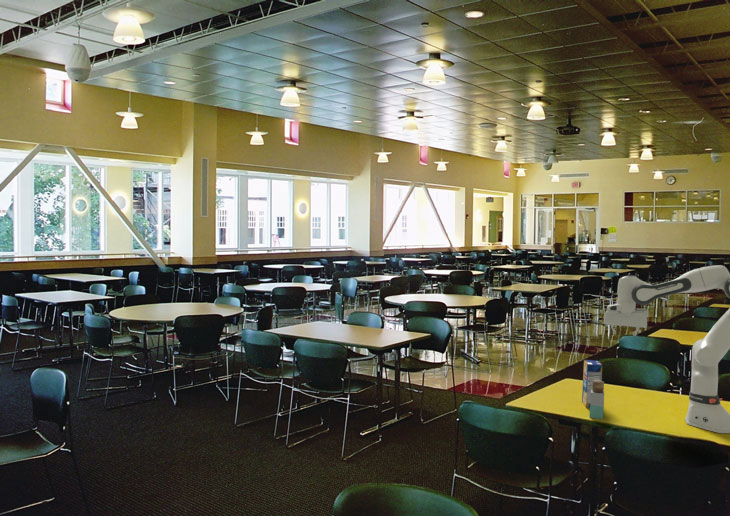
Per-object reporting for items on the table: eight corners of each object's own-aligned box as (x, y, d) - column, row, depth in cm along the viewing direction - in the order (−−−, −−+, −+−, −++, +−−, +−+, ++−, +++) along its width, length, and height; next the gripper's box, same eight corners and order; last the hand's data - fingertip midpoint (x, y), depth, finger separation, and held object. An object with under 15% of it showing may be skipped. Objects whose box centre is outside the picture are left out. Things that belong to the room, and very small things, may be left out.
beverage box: (585, 407, 312) (588, 364, 311) (581, 401, 323) (584, 359, 322) (600, 408, 311) (602, 365, 310) (595, 402, 322) (597, 360, 321)
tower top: (603, 403, 299) (604, 391, 299) (603, 406, 293) (604, 394, 293) (590, 401, 301) (591, 389, 301) (590, 404, 296) (590, 392, 295)
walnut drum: (605, 392, 296) (606, 382, 295) (597, 393, 294) (598, 383, 293) (597, 390, 300) (598, 379, 300) (590, 390, 298) (590, 380, 298)
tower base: (603, 415, 299) (603, 403, 299) (603, 419, 294) (603, 406, 293) (589, 413, 301) (590, 401, 301) (589, 417, 296) (590, 404, 296)
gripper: (648, 308, 311) (646, 335, 312) (604, 305, 319) (603, 332, 319) (649, 309, 305) (647, 337, 306) (604, 306, 313) (603, 333, 313)
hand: (624, 334), depth 313 cm, fingers open, 8 cm apart
